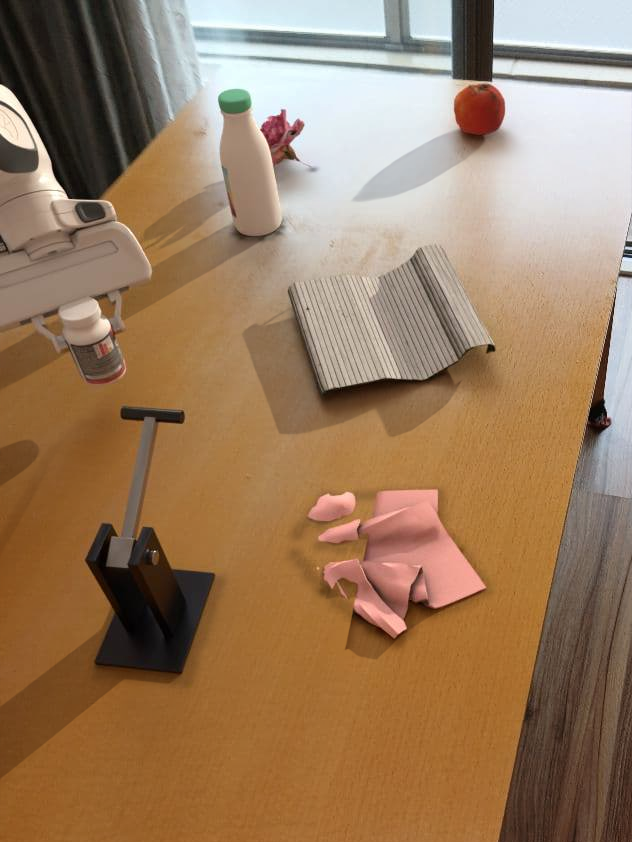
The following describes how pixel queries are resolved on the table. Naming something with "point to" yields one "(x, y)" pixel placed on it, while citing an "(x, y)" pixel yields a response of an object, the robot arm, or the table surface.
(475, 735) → the table surface
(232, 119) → the milk bottle
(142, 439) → the lever
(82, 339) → the pill bottle
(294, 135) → the flower
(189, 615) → the bracket
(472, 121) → the red round fruit
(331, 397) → the table surface
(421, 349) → the mat
